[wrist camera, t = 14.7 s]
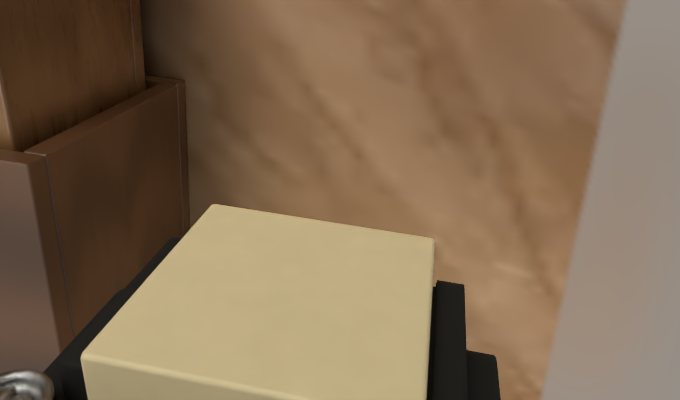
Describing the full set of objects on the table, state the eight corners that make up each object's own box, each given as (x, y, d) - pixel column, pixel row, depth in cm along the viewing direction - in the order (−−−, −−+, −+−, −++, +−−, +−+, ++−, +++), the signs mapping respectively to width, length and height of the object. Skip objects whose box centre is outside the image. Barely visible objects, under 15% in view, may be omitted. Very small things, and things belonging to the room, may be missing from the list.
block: (211, 201, 11) (77, 354, 7) (435, 236, 11) (425, 425, 7) (217, 368, 13) (115, 559, 9) (405, 406, 13) (383, 627, 9)
